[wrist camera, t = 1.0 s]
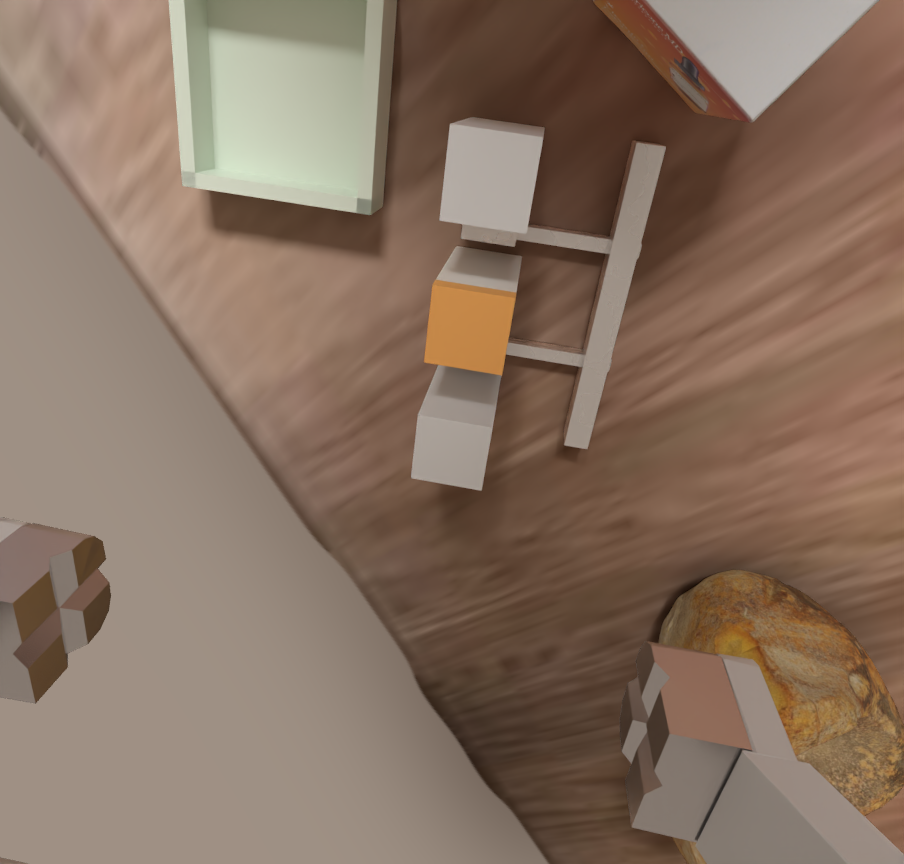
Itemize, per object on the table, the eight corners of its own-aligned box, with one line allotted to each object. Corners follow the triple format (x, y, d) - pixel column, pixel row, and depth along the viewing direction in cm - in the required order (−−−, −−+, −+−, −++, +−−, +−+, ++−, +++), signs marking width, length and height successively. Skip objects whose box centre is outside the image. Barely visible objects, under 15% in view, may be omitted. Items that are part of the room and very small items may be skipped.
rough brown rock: (820, 770, 56) (926, 974, 43) (628, 761, 57) (673, 960, 43) (904, 551, 46) (1078, 730, 32) (668, 544, 47) (743, 716, 33)
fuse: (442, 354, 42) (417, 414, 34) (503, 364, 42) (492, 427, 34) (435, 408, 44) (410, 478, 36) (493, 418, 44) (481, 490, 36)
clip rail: (481, 118, 35) (475, 120, 32) (664, 144, 35) (674, 149, 32) (443, 410, 44) (436, 430, 41) (589, 435, 43) (592, 457, 41)
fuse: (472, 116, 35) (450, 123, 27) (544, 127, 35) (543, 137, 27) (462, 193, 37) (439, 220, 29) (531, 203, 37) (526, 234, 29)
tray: (195, -40, 33) (165, -52, 31) (398, -13, 33) (385, -22, 30) (207, 179, 39) (182, 186, 36) (382, 206, 38) (370, 215, 35)
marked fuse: (456, 245, 39) (432, 285, 31) (522, 256, 38) (515, 298, 30) (448, 309, 40) (423, 362, 33) (511, 320, 40) (501, 375, 32)
